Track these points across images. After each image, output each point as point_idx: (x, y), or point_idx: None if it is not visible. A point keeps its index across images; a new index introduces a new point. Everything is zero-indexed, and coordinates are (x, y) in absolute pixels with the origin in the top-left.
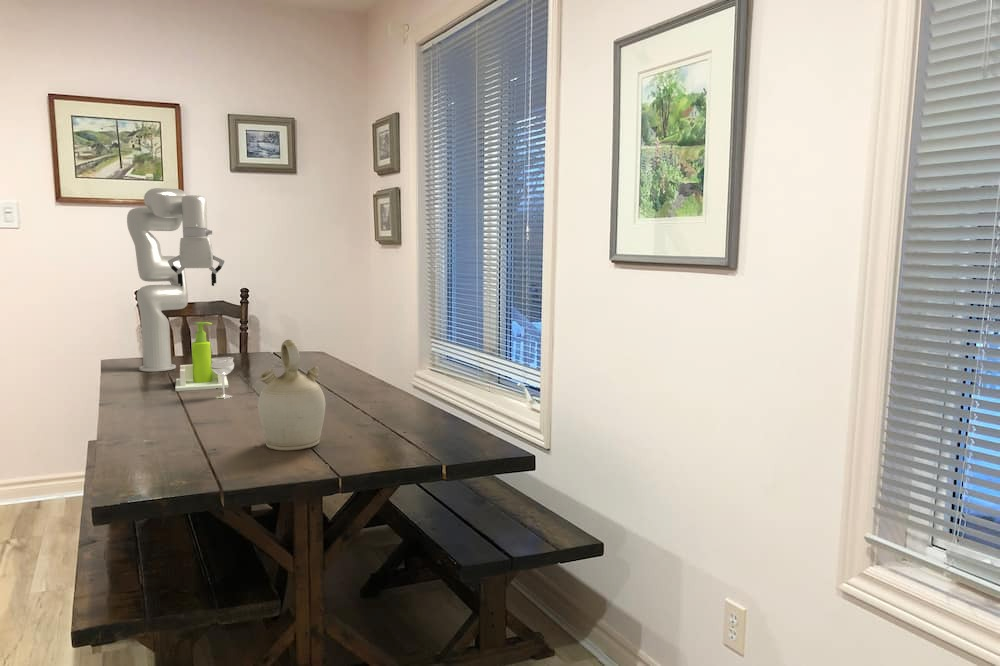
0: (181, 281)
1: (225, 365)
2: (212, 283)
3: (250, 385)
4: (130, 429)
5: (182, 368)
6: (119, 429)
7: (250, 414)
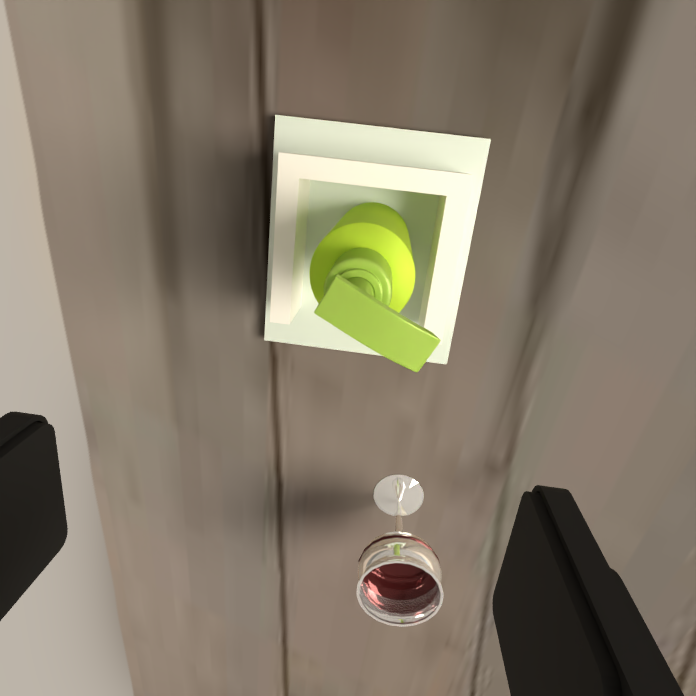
0: (3, 602)
1: (402, 608)
2: (507, 640)
3: (530, 350)
4: (173, 690)
5: (282, 264)
6: (153, 681)
7: (413, 693)
